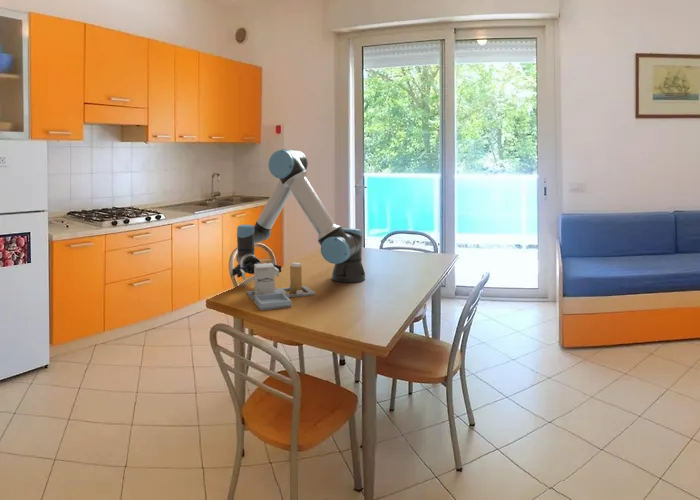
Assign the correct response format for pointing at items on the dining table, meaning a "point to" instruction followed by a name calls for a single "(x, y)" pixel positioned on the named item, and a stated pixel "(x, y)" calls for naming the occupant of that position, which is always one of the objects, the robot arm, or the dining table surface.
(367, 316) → the dining table surface
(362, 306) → the dining table surface
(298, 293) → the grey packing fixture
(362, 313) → the dining table surface
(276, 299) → the tray
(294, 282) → the amber bottle
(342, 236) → the robot arm
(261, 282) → the supplement box
